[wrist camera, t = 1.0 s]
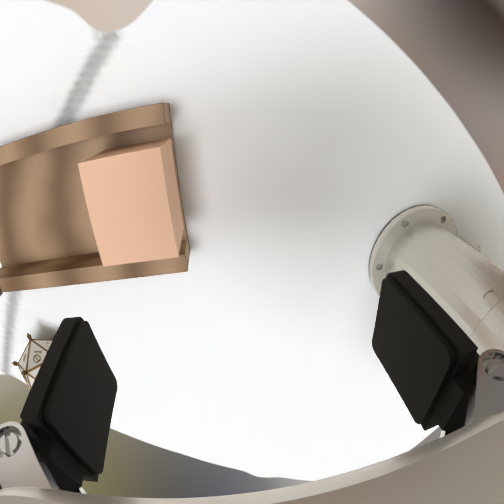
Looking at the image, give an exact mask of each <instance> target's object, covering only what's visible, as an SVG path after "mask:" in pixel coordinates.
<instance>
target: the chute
mask: <svg viewBox="0 0 504 504" xmlns="http://www.w3.org/2000/svg"><path fill="white" fill-rule="evenodd" d="M168 138H171V142H172V150H173V158H174V165H175V172H176V179H177V186H178V192H179V199H180V205H181V212H182V218H183V224H184V229H183V235H182V240H181V246H180V251H179V257H175V258H167V259H159V260H151V261H144V262H136V263H128V264H120V265H112V266H104V267H103V264H102V261H101V257H100V254H99V250H98V247H97V243H96V240H95V236H94V232H93V229H92V225H91V221H90V217H89V213H88V208H87V204H86V200H85V195H84V191H83V186H82V182H81V177H80V172H79V166H78V163H80V162H82V161H84V160H86V159H88V158H90V157H92V156H94V155H96V154H98V153H100V152H102V151H104V150H109V149H113V148H118V147H123V146H128V145H134V144H139V143H144V142H150V141H156V140H162V139H168ZM189 254H190V249H189V244H188V238H187V232H186V226H185V220H184V213H183V207H182V201H181V194H180V187H179V181H178V174H177V167H176V159H175V152H174V144H173V136H172V128H171V119H170V110H169V103H159V104H154V105H148V106H143V107H138V108H133V109H128V110H123V111H119V112H114V113H110V114H105V115H101V116H97V117H93V118H89V119H85V120H82V121H78V122H74V123H71V124H67V125H64V126H61V127H57V128H54V129H51V130H48V131H44V132H41V133H38V134H35V135H32V136H29V137H26V138H24V139H21V140H18V141H15V142H13V143H10V144H7V145H5V146H2V147H0V262H1V264H2V268H1V269H0V296H1V295H2V292H10V291H20V290H29V289H39V288H48V287H57V286H66V285H75V284H84V283H93V282H102V281H111V280H119V279H128V278H137V277H145V276H154V275H162V274H170V273H179V272H187V271H188V263H189Z"/></svg>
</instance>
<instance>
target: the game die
mask: <svg viewBox="0 0 504 504" xmlns="http://www.w3.org/2000/svg"><path fill="white" fill-rule="evenodd" d="M27 337H28V339H29V340H30V341H29V343H28V345H27V347H26V348H25V350H24V352H23V354H22V356H21V358H20V360H19V362H18V363H17V362H15V361H14V362H13V363H12V364H14V365H16V366H17V365H18V366H19V369H20V371H21V374H22V375H23V377H24V379H25V381H26V383H27V385H28V387H29V389H30V390H31V387H32V385H33V383H34V380H35V378H36V376H37V373H38V371H39V369H40V367H41V364H42V362H43V360H44V358H45V356H46V353H47V351H48V349H49V347H50V345H51V343H52V341H53V340H41V339H32V338H31V335H29V334H28V333H27Z"/></svg>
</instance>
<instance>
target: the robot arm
mask: <svg viewBox="0 0 504 504" xmlns="http://www.w3.org/2000/svg"><path fill="white" fill-rule="evenodd" d="M479 252H480V246H479V244H478V243H472V244H467V243H466V242H464V241H463V240H462V239H460V238H459V237H458V234H457V230H456V226H455V224H454V222H453V221H452V219H451V218H450V217H449V216H448V215H447V214H446V213H444V212H443V211H441V210H440V209H438V208H435V207H432V206H427V205H426V206H417V207H414V208H410V209H408V210H406V211H404V212H403V213H401V214H400V215H398V216H397V217H396V218H394V219H393V220H392V221H391V222H390V223H389V224H388V225H387V226H386V228H385V229H384V230H383V232H382V233H381V235H380V236H379V238H378V240H377V242H376V244H375V246H374V248H373V252H372V255H371V259H370V265H369V271H370V279H371V283H372V285H373V287H374V289H375V291H376V292H377V293H378V294H379V296H380V298H379V304H378V311H377V317H376V322H375V328H374V333H373V339H372V346H373V350H374V352H375V353H376V355H377V357H378V358H379V360H380V362H381V363H382V365H383V367H384V368H385V370H386V372H387V374H388V375H389V377H390V379H391V380H392V382H393V384H394V386H395V387H396V389H397V391H398V392H399V394H400V396H401V398H402V399H403V401H404V403H405V405H406V406H407V408H408V410H409V412H410V414H411V415H412V417H413V419H414V421H415V422H416V423H417V424H421V425H422V427H423V429H424V431H425V430H427V429H430V428H432V427H434V426H436V425H439V426H440V428H441V435H440V438H439V439H437V440H434V441H432V442H430V443H427V444H425V445H423V446H420V447H418V448H415V449H413V450H410V451H408V452H405V453H403V454H400V455H398V456H395V457H392V458H390V459H387V460H384V461H381V462H378V463H376V464H373V465H370V466H366V467H363V468H360V469H357V470H354V471H350V472H347V473H343V474H340V475H336V476H332V477H328V478H325V479H321V480H316V481H312V482H308V483H303V484H299V485H294V486H289V487H284V488H278V489H273V490H266V491H260V492H252V493H246V494H237V495H227V496H216V497H201V498H174V499H173V498H170V499H161V498H130V497H129V498H128V497H115V496H103V495H93V494H86V492H85V491H84V489H83V488H82V482H83V480H86V481H95V482H97V481H98V474H101V473H102V471H103V467H104V460H105V453H106V447H107V440H108V434H109V429H110V423H111V417H112V412H113V407H114V402H115V397H116V392H117V381H116V378H115V376H114V375H113V373H112V371H111V369H110V367H109V365H108V363H107V361H106V359H105V357H104V355H103V353H102V351H101V349H100V347H99V345H98V342H97V340H96V338H95V336H94V334H93V332H92V329H91V327H90V325H89V323H88V322H87V321H84V320H83V319H82V318H81V317H73V318H65V319H63V321H62V323H61V325H60V327H59V329H58V331H57V333H56V335H55V337H54V339H53V341H52V343H51V345H50V347H49V349H48V351H47V353H46V356H45V358H44V360H43V362H42V364H41V367H40V369H39V371H38V373H37V376H36V378H35V380H34V383H33V385H32V387H31V390H30V393H29V395H28V397H27V400H26V402H25V405H24V407H23V410H22V413H21V415H20V417H21V419H22V422H21V425H20V424H19V423H16V422H6V423H3V424H1V425H0V504H504V271H503V270H502V269H500V268H499V267H498V266H497V265H495V264H494V263H493V262H491V261H490V260H489V259H487V258H486V257H485V256H483V255H482V254H481V253H479Z"/></svg>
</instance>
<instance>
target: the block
mask: <svg viewBox="0 0 504 504" xmlns="http://www.w3.org/2000/svg"><path fill="white" fill-rule="evenodd" d="M78 166H79V172H80V177H81V182H82V186H83V191H84V195H85V200H86V204H87V208H88V213H89V217H90V221H91V225H92V229H93V232H94V236H95V240H96V243H97V247H98V250H99V254H100V257H101V261H102V264H103V267H104V266H112V265H120V264H128V263H136V262H144V261H151V260H159V259H167V258H175V257H179V251H180V246H181V240H182V235H183V229H184V224H183V218H182V212H181V205H180V199H179V192H178V186H177V179H176V172H175V165H174V158H173V150H172V142H171V138H168V139H162V140H156V141H150V142H144V143H139V144H134V145H128V146H123V147H118V148H113V149H109V150H104V151H102V152H100V153H98V154H96V155H94V156H92V157H90V158H88V159H86V160H84V161H82V162H80V163H78Z"/></svg>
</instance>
